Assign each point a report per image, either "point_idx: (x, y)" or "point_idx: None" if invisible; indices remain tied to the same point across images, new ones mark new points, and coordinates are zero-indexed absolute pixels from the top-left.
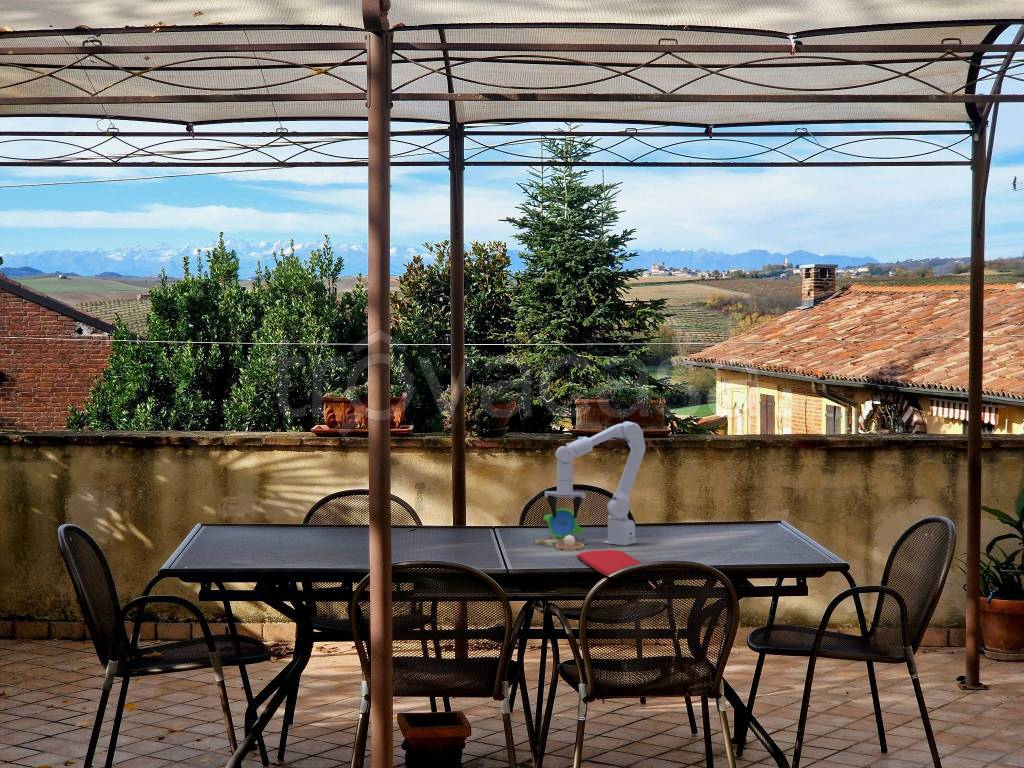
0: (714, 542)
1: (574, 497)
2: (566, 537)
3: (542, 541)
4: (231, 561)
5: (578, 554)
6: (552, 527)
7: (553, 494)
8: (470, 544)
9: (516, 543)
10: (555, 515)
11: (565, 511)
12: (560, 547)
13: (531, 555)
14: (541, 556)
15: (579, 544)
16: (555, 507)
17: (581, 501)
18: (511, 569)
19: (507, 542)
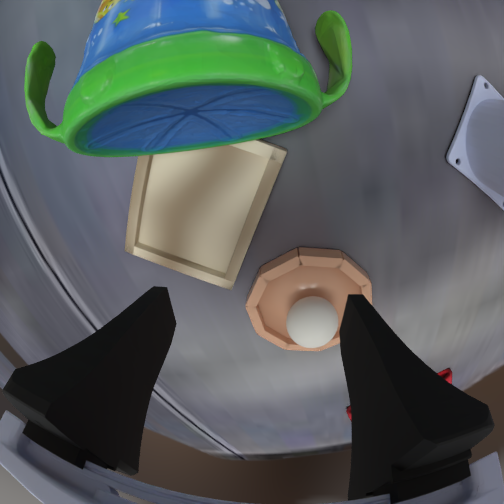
0: None
1: (371, 501)
2: (301, 345)
3: (169, 266)
4: (3, 383)
5: (350, 415)
6: (137, 147)
7: (81, 486)
8: (21, 289)
9: (80, 248)
10: (167, 317)
11: (172, 88)
12: (282, 345)
13: (225, 400)
14: (254, 405)
15: (351, 277)
16: (130, 355)
17: (462, 408)
18: (243, 455)
19: (51, 237)
